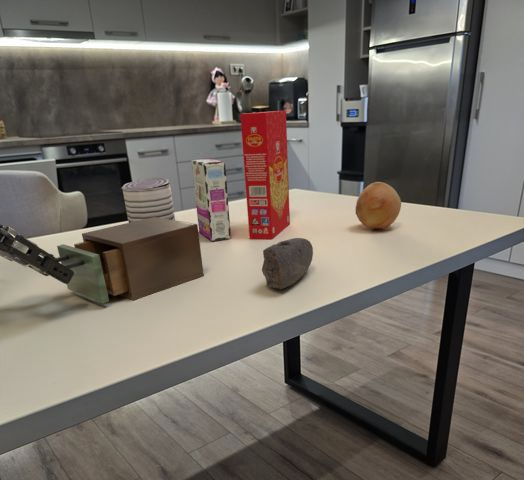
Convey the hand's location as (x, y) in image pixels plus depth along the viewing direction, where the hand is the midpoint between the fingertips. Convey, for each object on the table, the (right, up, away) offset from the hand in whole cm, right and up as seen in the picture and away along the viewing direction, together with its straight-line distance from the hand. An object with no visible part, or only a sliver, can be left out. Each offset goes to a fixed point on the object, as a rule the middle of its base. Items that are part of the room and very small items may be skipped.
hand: (59, 274), depth 72 cm
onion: (+57, +16, +36) cm, 69 cm away
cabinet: (+11, +1, +12) cm, 16 cm away
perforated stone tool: (+36, 0, +7) cm, 36 cm away
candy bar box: (+20, +15, +39) cm, 46 cm away
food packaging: (+33, +16, +40) cm, 54 cm away
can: (+4, +18, +47) cm, 50 cm away
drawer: (+5, -1, +6) cm, 8 cm away
